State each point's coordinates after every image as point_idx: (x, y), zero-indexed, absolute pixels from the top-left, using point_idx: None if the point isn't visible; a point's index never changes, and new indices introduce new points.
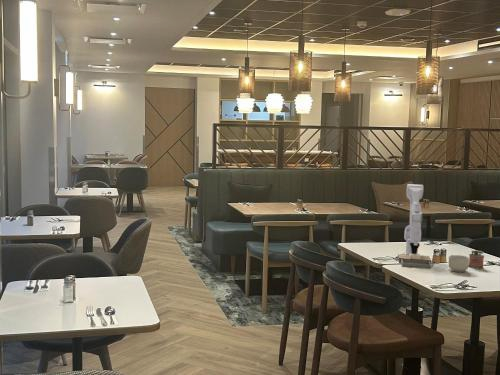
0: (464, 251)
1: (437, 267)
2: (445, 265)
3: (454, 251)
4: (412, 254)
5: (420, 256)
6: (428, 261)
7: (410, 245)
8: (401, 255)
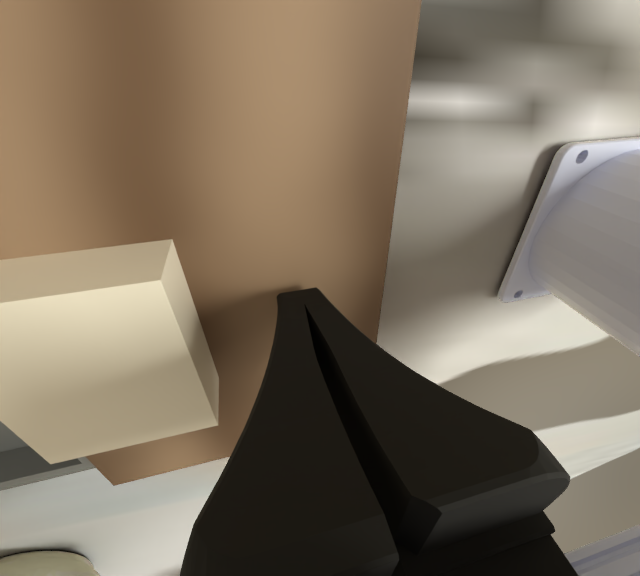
0: (605, 446)
1: (31, 488)
2: (191, 491)
3: (618, 424)
4: (80, 350)
5: (53, 454)
6: (77, 464)
7: (415, 421)
8: (226, 39)
